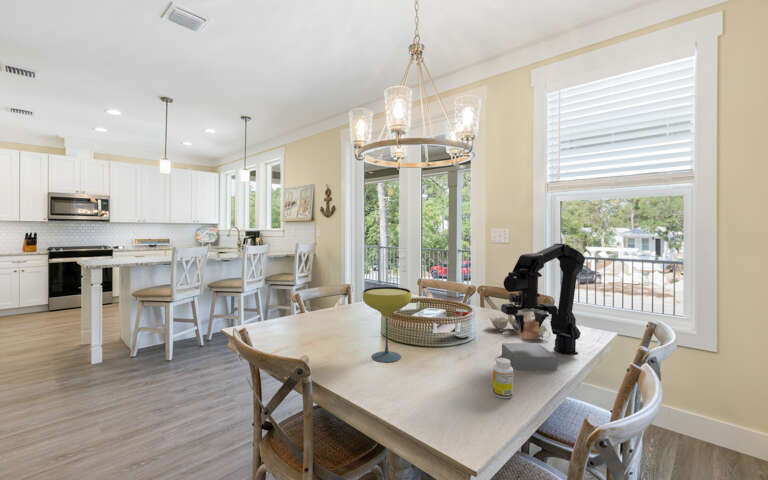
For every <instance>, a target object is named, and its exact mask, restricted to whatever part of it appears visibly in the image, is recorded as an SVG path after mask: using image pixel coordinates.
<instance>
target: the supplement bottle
mask: <svg viewBox="0 0 768 480" xmlns="http://www.w3.org/2000/svg"><path fill="white" fill-rule="evenodd" d="M492 367H493V369H492V392H493V394H494V396H495V397H496V398H497V397H498V398H499V399H504V400H505V399H511V398H512V397H513V395H514V367H513V366H512V365H511V364H510V360H509V359H506V358H504V357H497V358H496V359H495V364H494V365H493V366H492Z"/></svg>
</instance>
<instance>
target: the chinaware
mask: <svg viewBox="0 0 768 480" xmlns="http://www.w3.org/2000/svg"><path fill="white" fill-rule="evenodd" d="M508 302H509V304H513V305H514V302H510V301H508ZM517 306H520V305H517ZM522 315H524V319H530V318H532V315H531V311H528V312H522ZM533 319H534V320H535V318H533ZM489 320H490V321H491V324H492V326H493V327H494V329H495V330H496V329H497V330H496V331H498V330H502V329H503V330H504V329H505V328H506V327H507V326H508V323H509V324H510V325H511V327H512V329H513V331H514V332H515V331H516V333H517V334H519V327H518V324H517V321H516V319H515V317H514V316H513V315H507V318H506V317H502V316H500V317H498V316H492V317H490V318H489ZM547 332H548V334H549V335H548V336H544V335H545V334H546V333H547ZM549 337H551V333H550V331H549V330H548V327H546V326H545V325H542V324H541V326H540V328H539V339H538V340H540V339H544V338H545V339H547V338H549Z"/></svg>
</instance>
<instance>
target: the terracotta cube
mask: <svg viewBox="0 0 768 480" xmlns="http://www.w3.org/2000/svg"><path fill="white" fill-rule="evenodd" d="M534 319H535V318H533V317H531V318H530V319H524V323H523V333H521V332H520V330H519V333H518V336H520V337H521V338H523V339H524V340H539V322H538V321H536V320H534Z"/></svg>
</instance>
